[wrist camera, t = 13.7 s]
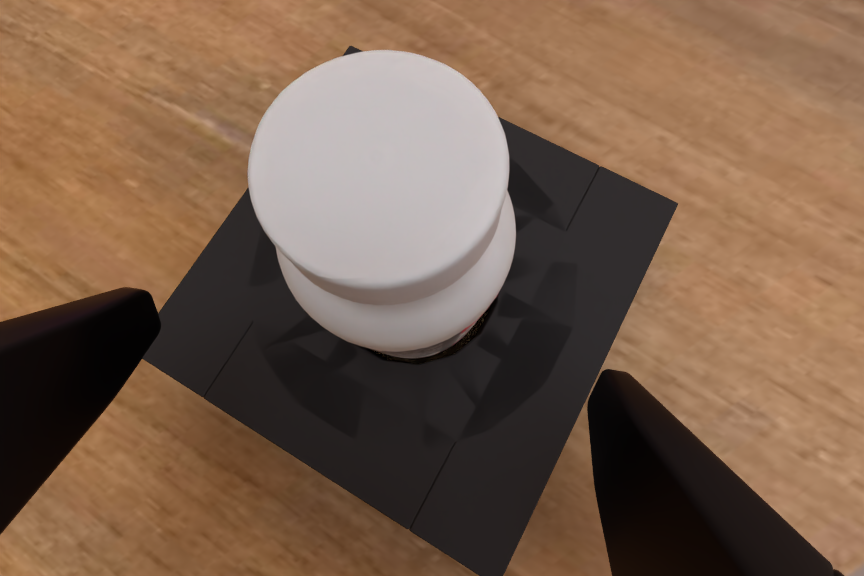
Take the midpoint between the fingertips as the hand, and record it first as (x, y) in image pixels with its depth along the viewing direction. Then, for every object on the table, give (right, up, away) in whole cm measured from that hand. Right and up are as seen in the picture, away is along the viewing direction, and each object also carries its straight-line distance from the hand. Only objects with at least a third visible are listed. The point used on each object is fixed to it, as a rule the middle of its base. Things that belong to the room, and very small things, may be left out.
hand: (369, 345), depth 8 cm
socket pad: (+1, +1, +8) cm, 8 cm away
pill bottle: (+1, +1, +8) cm, 8 cm away
